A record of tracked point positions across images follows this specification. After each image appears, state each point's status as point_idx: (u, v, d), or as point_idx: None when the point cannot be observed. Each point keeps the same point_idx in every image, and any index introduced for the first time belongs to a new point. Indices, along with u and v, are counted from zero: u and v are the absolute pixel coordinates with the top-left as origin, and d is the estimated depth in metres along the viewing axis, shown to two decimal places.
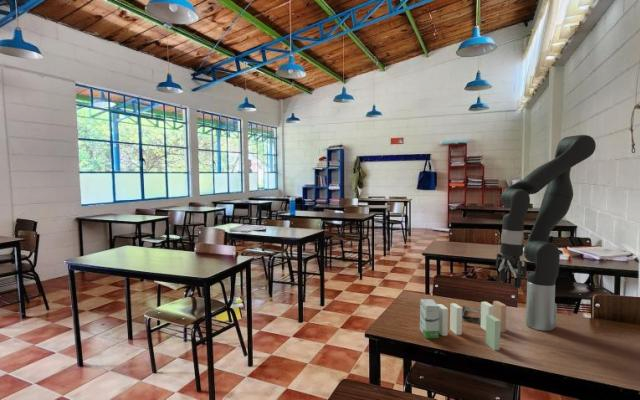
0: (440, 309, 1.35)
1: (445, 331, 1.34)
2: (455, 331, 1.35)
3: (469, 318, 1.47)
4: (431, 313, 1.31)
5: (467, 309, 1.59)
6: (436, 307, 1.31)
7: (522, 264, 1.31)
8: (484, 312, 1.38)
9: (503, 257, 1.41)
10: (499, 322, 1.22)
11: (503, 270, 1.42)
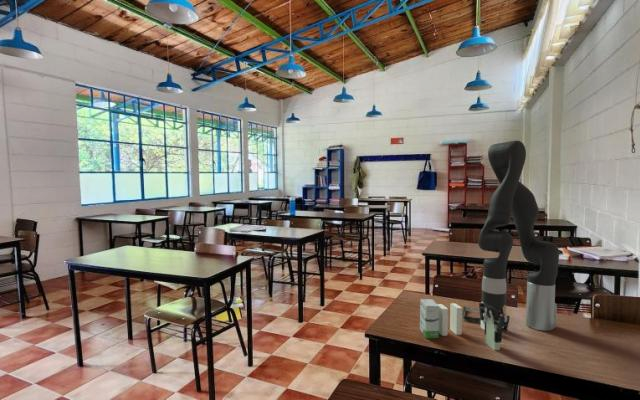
0: (440, 309, 1.35)
1: (445, 331, 1.34)
2: (455, 331, 1.35)
3: (470, 318, 1.47)
4: (431, 313, 1.31)
5: (468, 309, 1.58)
6: (436, 307, 1.31)
7: (504, 320, 1.18)
8: None
9: (485, 306, 1.27)
10: None
11: None
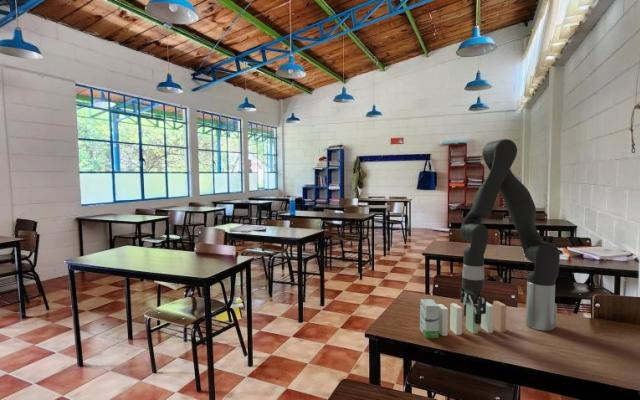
0: (440, 309, 1.35)
1: (445, 331, 1.34)
2: (455, 331, 1.35)
3: None
4: (431, 313, 1.31)
5: None
6: (436, 307, 1.31)
7: (482, 301, 1.30)
8: None
9: (465, 291, 1.40)
10: (477, 308, 1.35)
11: None
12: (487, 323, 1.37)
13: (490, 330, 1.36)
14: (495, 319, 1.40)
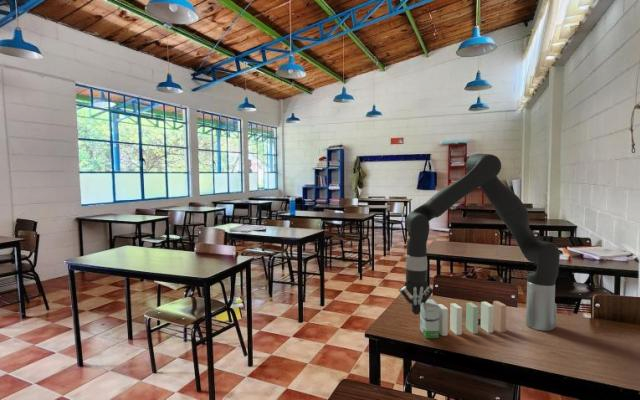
0: (440, 309, 1.35)
1: (445, 331, 1.34)
2: (455, 331, 1.35)
3: None
4: (431, 313, 1.31)
5: None
6: (436, 307, 1.31)
7: (401, 293, 1.34)
8: (484, 312, 1.38)
9: None
10: (477, 308, 1.35)
11: None
12: (487, 323, 1.37)
13: (490, 330, 1.36)
14: (495, 319, 1.40)
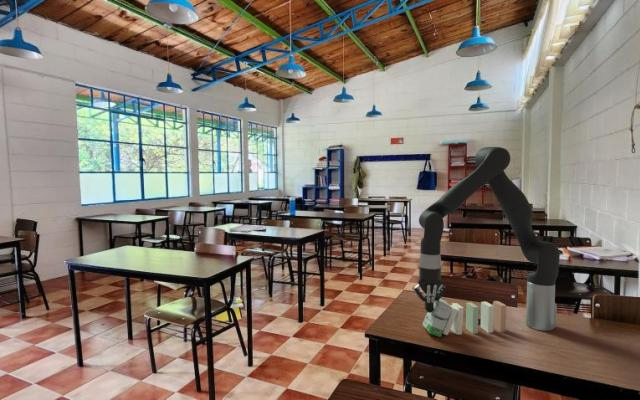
0: None
1: (447, 330, 1.34)
2: (455, 331, 1.35)
3: None
4: (443, 311, 1.32)
5: None
6: (449, 307, 1.32)
7: (414, 291, 1.34)
8: (484, 312, 1.38)
9: None
10: (477, 308, 1.35)
11: None
12: (487, 323, 1.37)
13: (490, 330, 1.36)
14: (495, 319, 1.40)
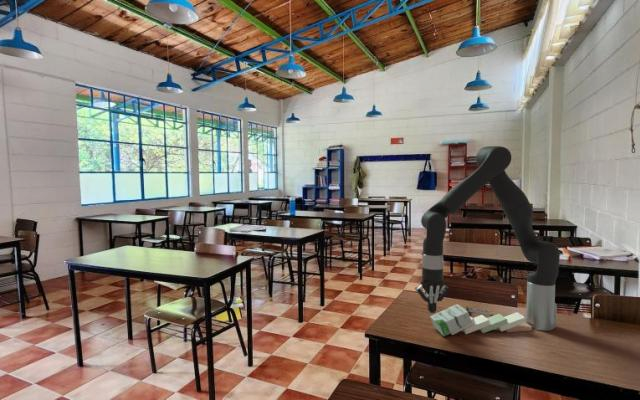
0: None
1: (455, 331, 1.35)
2: None
3: None
4: (463, 319, 1.32)
5: (470, 310, 1.57)
6: (470, 321, 1.33)
7: (417, 291, 1.34)
8: (512, 317, 1.38)
9: None
10: (506, 323, 1.36)
11: None
12: None
13: (502, 327, 1.36)
14: None
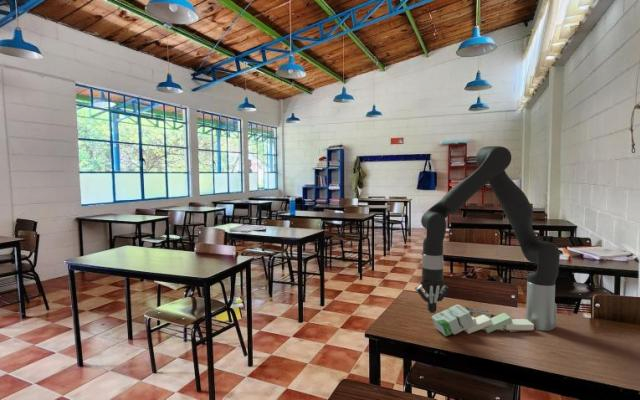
0: None
1: (457, 331, 1.35)
2: (468, 327, 1.36)
3: None
4: (465, 319, 1.33)
5: (470, 310, 1.57)
6: (472, 321, 1.33)
7: (417, 291, 1.34)
8: (521, 321, 1.38)
9: None
10: (510, 321, 1.35)
11: None
12: (514, 324, 1.36)
13: (509, 326, 1.36)
14: None
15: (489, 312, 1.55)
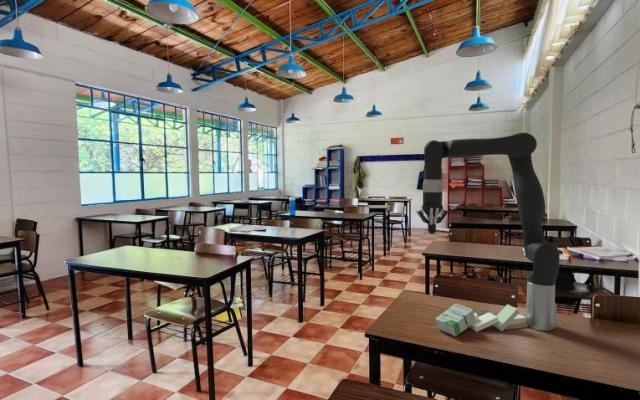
0: None
1: None
2: (475, 325, 1.38)
3: None
4: (470, 317, 1.36)
5: None
6: (474, 318, 1.37)
7: (418, 214, 1.47)
8: None
9: None
10: (518, 312, 1.38)
11: None
12: None
13: None
14: None
15: (490, 312, 1.55)
